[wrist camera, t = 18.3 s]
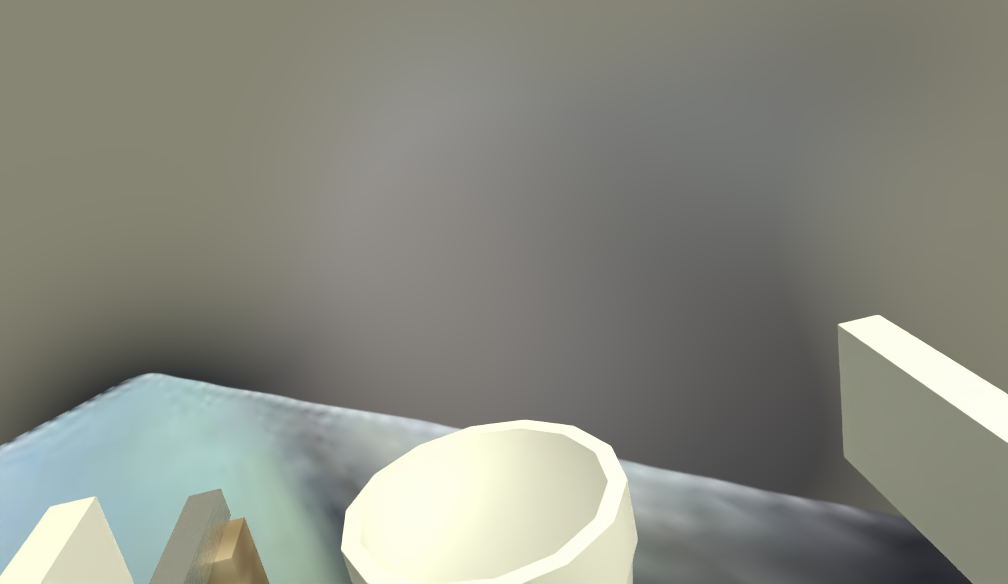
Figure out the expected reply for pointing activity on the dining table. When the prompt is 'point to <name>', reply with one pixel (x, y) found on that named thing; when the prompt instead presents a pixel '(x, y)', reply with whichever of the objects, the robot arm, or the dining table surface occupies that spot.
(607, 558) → the foam cup
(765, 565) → the dining table surface
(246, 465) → the dining table surface
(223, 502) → the steel bar
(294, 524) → the dining table surface
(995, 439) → the robot arm
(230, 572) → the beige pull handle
